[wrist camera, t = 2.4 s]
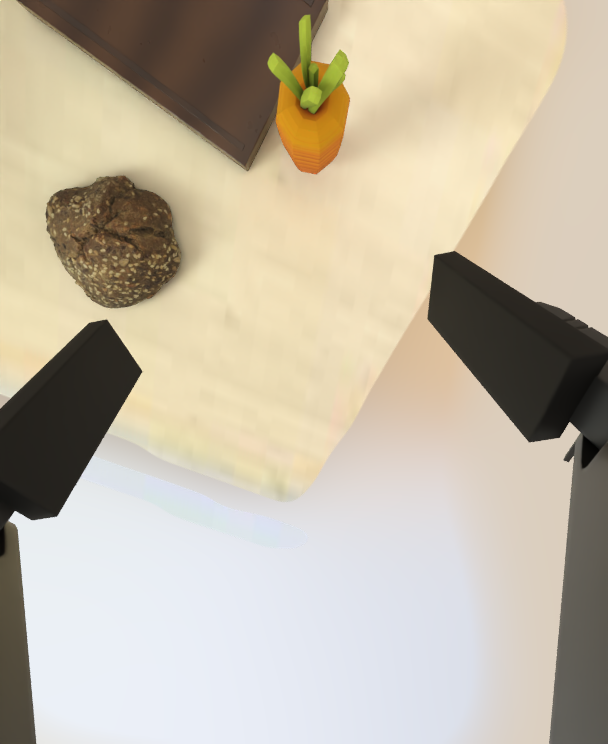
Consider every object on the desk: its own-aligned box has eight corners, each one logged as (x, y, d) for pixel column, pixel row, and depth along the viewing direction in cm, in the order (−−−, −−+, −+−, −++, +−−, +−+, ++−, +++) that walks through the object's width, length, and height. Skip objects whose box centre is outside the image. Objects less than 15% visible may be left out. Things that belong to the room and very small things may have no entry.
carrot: (277, 173, 29) (244, 80, 15) (304, 120, 27) (296, -39, 13) (319, 203, 30) (326, 142, 15) (347, 153, 28) (383, 37, 14)
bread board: (28, 11, 25) (10, -5, 24) (79, -211, 21) (61, -247, 20) (248, 171, 29) (244, 166, 27) (328, 9, 25) (329, -8, 23)
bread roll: (103, 316, 34) (70, 323, 29) (41, 202, 30) (-8, 190, 25) (202, 281, 32) (183, 283, 28) (150, 156, 29) (118, 134, 24)
